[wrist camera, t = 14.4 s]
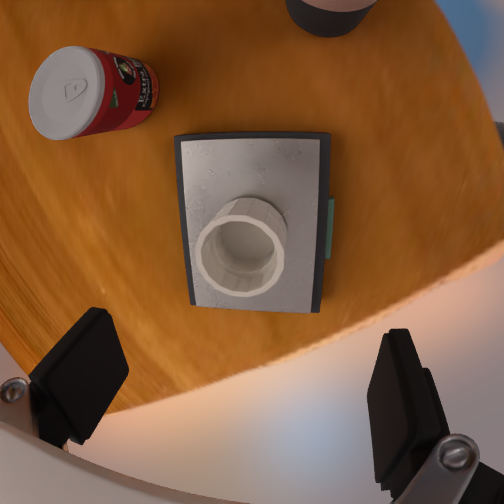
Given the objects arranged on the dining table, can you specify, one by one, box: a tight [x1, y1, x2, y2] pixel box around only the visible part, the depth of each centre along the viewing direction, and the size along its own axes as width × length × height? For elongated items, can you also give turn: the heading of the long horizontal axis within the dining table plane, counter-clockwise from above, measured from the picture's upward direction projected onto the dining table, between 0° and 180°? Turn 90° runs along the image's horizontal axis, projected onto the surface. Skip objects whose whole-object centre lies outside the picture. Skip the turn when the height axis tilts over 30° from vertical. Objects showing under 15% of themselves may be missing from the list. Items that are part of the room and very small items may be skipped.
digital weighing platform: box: [181, 138, 320, 313], centre depth 29 cm, size 12×17×1 cm
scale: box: [174, 131, 334, 313], centre depth 31 cm, size 15×18×2 cm
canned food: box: [29, 46, 159, 140], centre depth 23 cm, size 8×8×11 cm
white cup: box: [195, 198, 287, 297], centre depth 26 cm, size 7×7×6 cm
